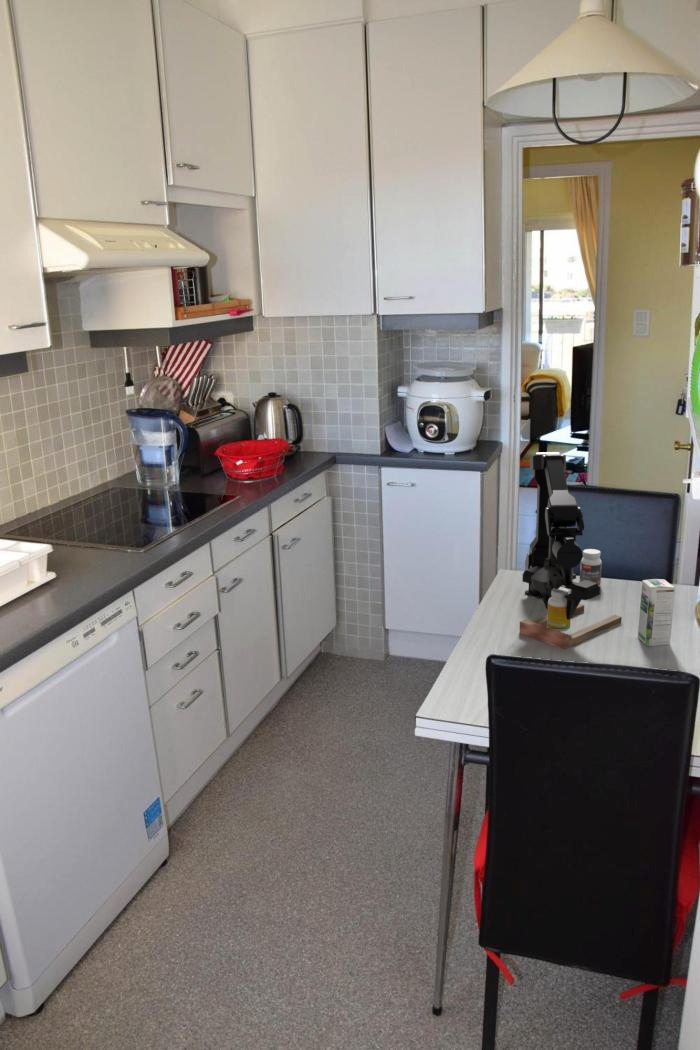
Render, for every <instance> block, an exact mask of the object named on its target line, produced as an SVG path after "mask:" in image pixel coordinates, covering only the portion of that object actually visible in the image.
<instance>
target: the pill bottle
mask: <svg viewBox="0 0 700 1050" xmlns="http://www.w3.org/2000/svg"><path fill="white" fill-rule="evenodd" d="M582 554H583V557H582V560H581V562H580V563H579V566H580V567H579V579H578V580H579V581H578V583H579V582H581V581H584V580H587V581H591V582H594V583H598V585H599V586H600V587H601V584H602V581H601V580H602V565H603V563H602V560H601V558H600V557H601V554H602V552H601V551H600V550H598V549H595V548H586V549H584V550H582Z"/></svg>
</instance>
